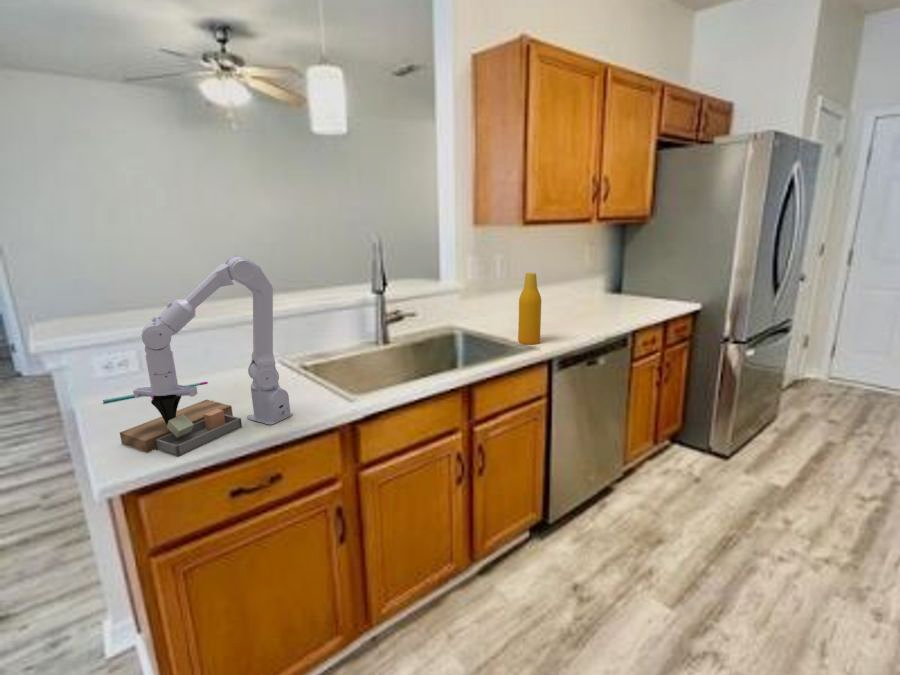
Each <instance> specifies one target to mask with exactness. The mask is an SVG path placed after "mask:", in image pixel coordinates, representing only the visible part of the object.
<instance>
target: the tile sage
mask: <svg viewBox="0 0 900 675" xmlns="http://www.w3.org/2000/svg"><path fill="white" fill-rule="evenodd" d="M193 426H194V424H193V423H192V422H191V421H190V420H189V419H188V418H187V417H186V416H185V415H184V414H183V415H180V416H178V417H176V418H173V419H171V420H169V421H168V424H167V428H168V429H169V430H170V431H171V432H172V433H173V434H174V435H175V436H176V437H177V438H178V437H180V436H182V435H184V434H186V433H188V432H191V431H192V429H193Z"/></svg>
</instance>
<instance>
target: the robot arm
mask: <svg viewBox="0 0 900 675" xmlns="http://www.w3.org/2000/svg"><path fill="white" fill-rule="evenodd" d="M233 280H234V281H235V282H237V283H238V284H240V285H243V286H244V287H246V289H248V290H249V291H250V292H251V293H252V330H253V331H252V344H253V345H252V346H253V347H252V348H253V349H252V350H253V351H252V353H251V360H250V361H251V362H250V363H249V365H248V369H247V373H248V376H249V377H250V378H251V379H252V380H253V381H252V382H251V384H250V393H251V402H252V409H253V414H251V415H249V416H247V417H246V418H247V420H250V421H254V422H259V423H261V424H266V425H270V426H273V425H274V424H277V423H278V422H281V421H283V420H285V419H286V418H289V417H291V416H293V414H294V413H293V412H291V406H290V405H291V404H290V399H289V398H290V397H289V393H288V392H287V390H286V389H284V388H282V387H281V385H280V382H279V380H280V373H279V371H278V370H277V367H276V360H275V356H274V348H273V347H274V328H273V327H274V319H273V318H274V310H273V309H274V303H273V302H274V299H273V298H274V294H273V293H274V288H273V285H272V284H271V282H270V281H269V279H268V278H267V276H266V274H265V273H264V272H263V270H262V268H261V267H260V265H258V264H257V263H255V262H254V261H253V260H252V259H250V258H246V257H244V256H242V255H233V256H231V257H229V258H227V260H226V261H225V262H223V263H221V264H219V265H218V266H217V267H216V268H215V269H214V270H213V271H211V273H210V274H209V275H208V276H207V277H205V279H203V280H202V281H201V282H200V283H199V285H197V286H196V287H195V288H194V290H192V291H191V292H190V293H189V295H187V296H186V297H185V298H183V299H178V298H177V299H175V300H174V301H169V302H167V303H166V306H167V307H165V309H163V311H162V312H161V313H159V315H158V316H156V317H155V316H153V317H152V318H151V322H149V323H148V324H145V326H144V327H143V328H142V331H141V339H142V343H143V344H144V345H145V346H144V351H145V353H146V354H145V360H146V365H147V366H146V367H147V372H148V377H149V383H150V386H146V387H137V388H135V389H134V390H132V392H133V395H134V398H133V399H139V398H143V397H146V398H147V397H151V396H153V397H154V398H153V400H152V399H151V400H150V403H151V405H153V406H154V408H155V409H156V410H157V411H158V413H159V414H160V416H161V417H163V419H164V421H165V423H166V425H167V424H168V421H169V420H171V419H173V418H176V412H177V411H178V407H179V404H180V401H181V398H182V396H183V397H184V396H185V397H195V396H197V395H198V388H197V386H185V385H183V384H182V385H181V384H178V377H177V371H176V366H175V359H174V354H173V353H174V352H173V350H171V341H172V336H174V335H177V334H178V333H179V332H180V331H182V329H183V328H185V327H186V325H187V324H188V323H190V321H192V319H194V318H195V317H196V314H197V313H196V309H197V308H198V307H199V306H200V305H201V304H202V303H204V302H205V301H206V300H207V299H209V297H210V296H212V295H213V294H214V293H215V292H216V291H217V290H219V289H220V288H221V287H227V286H233V285H234V282H233Z"/></svg>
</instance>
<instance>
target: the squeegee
mask: <svg viewBox="0 0 900 675" xmlns="http://www.w3.org/2000/svg"><path fill="white" fill-rule="evenodd" d="M208 384H209V383H208V381H203V382H197V383H196V382H195V383H192V384H185V385H184V386H193V387H197V386H202V385H208ZM150 398H151V401H152V400H153V398H154V397H153V396H150ZM131 399H135V398H134V394H130V395H129V394H128V395H124V396H118V397H112V398H107V399H102V403H103V405H106V404H111V403H116V402H121V401H126V400H131Z"/></svg>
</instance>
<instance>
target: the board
mask: <svg viewBox="0 0 900 675" xmlns="http://www.w3.org/2000/svg"><path fill="white" fill-rule="evenodd" d="M215 409H220V410H223V411H224V414H226V415H230V416H233V415H234V414H233V408H232V405H230V404H227V403H222V402H219V401H218V402H217V401H214V400H209V399H205V400H201V401H198V402H196V403H193V404H191V405H189V406H186V407H183V408H180V409H177V412H176V417H178V416H180V415H183V414H184V415H185V416H186V417H187V418H188V419H189V420H190V421H191V422H192V423H193V424H194V423H197V422H199V421H201V420H204V414H206V413H208V412H211V411H213V410H215ZM170 433H172V432H171V431H170V430H169V429H168V428H167V425H166V423H165V421H164V419H163V417H162V416H159V417H157V418H154V419H151V420H149V421H147V422H144V423H143V422H142V423H141V424H139V425H136V426H133V427H131V428H128V429H125V430H123V431H120V432H119V436H120V442H121V444H122V445H124V446H127V447H130V448H133V449H136V450H138V451H142V452H143V453H147V454H148V453H150V452H153V451H154V450H157V449H156V444H155V440H156V439H158V438H161V437H163V436H165V435H168V434H170ZM152 450H153V451H152Z"/></svg>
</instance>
